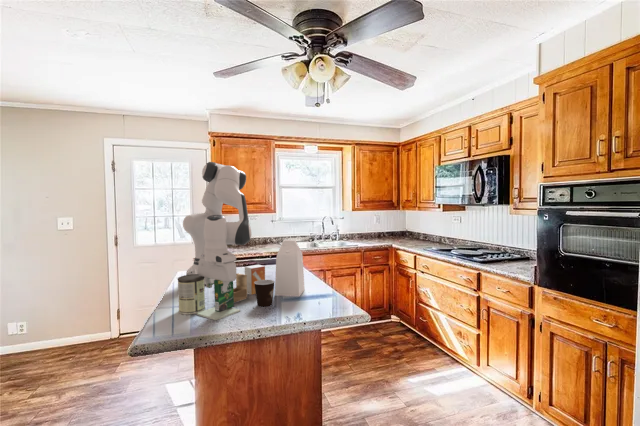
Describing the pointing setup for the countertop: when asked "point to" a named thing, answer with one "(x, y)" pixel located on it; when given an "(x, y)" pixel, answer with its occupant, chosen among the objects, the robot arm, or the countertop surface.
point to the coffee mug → (264, 292)
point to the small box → (254, 276)
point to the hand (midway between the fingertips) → (216, 289)
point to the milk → (289, 270)
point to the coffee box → (223, 296)
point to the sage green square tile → (217, 313)
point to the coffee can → (191, 294)
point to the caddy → (240, 287)
